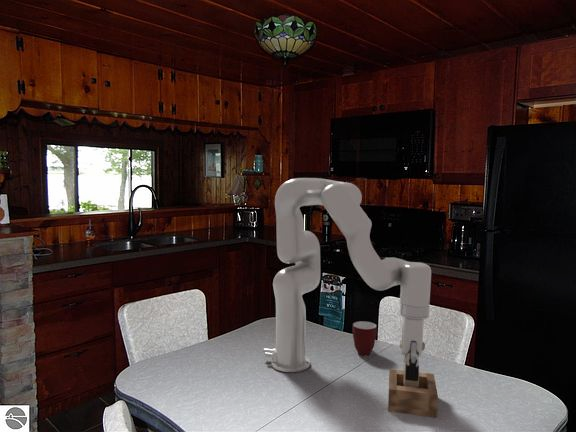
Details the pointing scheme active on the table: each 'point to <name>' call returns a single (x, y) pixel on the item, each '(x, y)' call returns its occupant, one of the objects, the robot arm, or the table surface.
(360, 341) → the mug
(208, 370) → the table surface
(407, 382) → the handle
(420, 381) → the block
